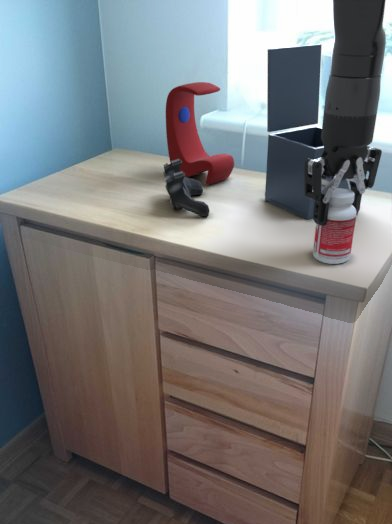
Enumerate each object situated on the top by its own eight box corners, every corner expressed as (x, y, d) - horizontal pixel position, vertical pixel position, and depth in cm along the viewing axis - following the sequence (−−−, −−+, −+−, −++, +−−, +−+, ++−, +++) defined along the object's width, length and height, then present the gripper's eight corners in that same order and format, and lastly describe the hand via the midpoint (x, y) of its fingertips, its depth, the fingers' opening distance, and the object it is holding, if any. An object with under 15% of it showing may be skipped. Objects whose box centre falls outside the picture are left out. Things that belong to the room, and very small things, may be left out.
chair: (167, 174, 133) (163, 83, 122) (188, 167, 138) (186, 78, 126) (213, 187, 125) (213, 90, 114) (234, 179, 129) (236, 85, 118)
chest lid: (321, 44, 108) (318, 44, 108) (270, 49, 102) (267, 49, 103) (318, 123, 115) (315, 123, 116) (269, 132, 110) (267, 131, 110)
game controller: (177, 204, 124) (154, 164, 118) (204, 188, 122) (182, 148, 117) (182, 232, 110) (156, 189, 105) (213, 215, 109) (188, 171, 104)
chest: (355, 207, 113) (365, 139, 106) (307, 219, 108) (315, 149, 100) (310, 189, 123) (316, 125, 115) (264, 200, 118) (268, 134, 110)
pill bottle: (357, 260, 92) (368, 195, 86) (326, 268, 90) (335, 201, 84) (334, 247, 97) (343, 184, 91) (305, 253, 95) (311, 189, 89)
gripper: (331, 119, 75) (318, 237, 84) (405, 107, 81) (384, 217, 91) (295, 110, 80) (286, 221, 90) (366, 99, 86) (351, 204, 96)
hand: (335, 219), depth 90 cm, fingers closed on pill bottle, 6 cm apart
